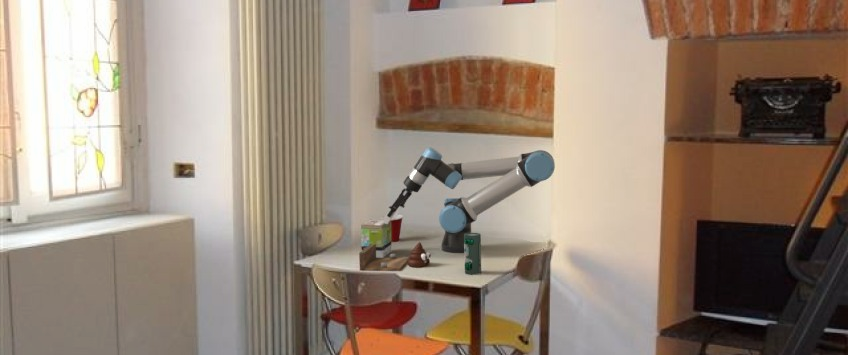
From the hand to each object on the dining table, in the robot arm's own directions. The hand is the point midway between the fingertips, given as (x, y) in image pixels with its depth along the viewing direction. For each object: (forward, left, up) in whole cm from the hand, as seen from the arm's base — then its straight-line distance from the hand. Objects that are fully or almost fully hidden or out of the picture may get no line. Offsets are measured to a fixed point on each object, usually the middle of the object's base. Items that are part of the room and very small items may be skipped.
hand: (387, 220), depth 322 cm
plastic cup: (+5, -32, -16) cm, 36 cm away
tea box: (+5, +1, -16) cm, 16 cm away
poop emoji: (-17, +20, -16) cm, 30 cm away
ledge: (-3, +21, -15) cm, 26 cm away
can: (-40, +32, -16) cm, 53 cm away
